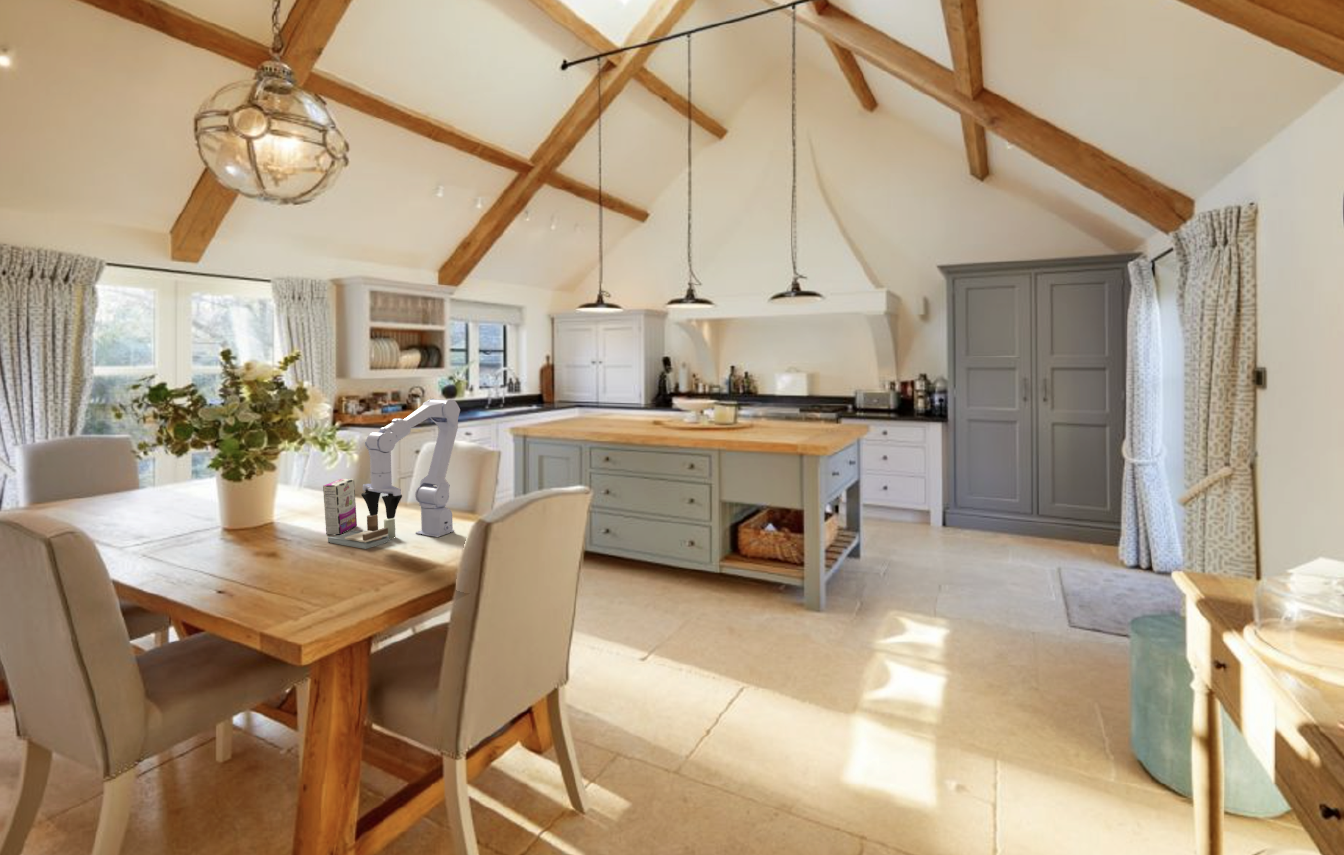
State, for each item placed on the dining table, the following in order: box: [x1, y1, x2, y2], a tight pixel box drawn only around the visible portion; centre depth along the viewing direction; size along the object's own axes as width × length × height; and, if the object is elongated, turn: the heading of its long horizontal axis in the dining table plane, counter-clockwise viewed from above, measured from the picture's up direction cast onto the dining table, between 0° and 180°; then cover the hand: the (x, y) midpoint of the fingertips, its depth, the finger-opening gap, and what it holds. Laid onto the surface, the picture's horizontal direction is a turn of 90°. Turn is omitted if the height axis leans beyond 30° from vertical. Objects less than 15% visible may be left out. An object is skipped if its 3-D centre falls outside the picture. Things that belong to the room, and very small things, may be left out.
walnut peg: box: [366, 514, 379, 531], centre depth 212 cm, size 3×3×6 cm
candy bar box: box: [322, 478, 358, 535], centre depth 215 cm, size 11×5×16 cm, turn 179°
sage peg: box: [383, 517, 396, 540], centre depth 208 cm, size 3×3×6 cm
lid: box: [345, 527, 388, 543], centre depth 201 cm, size 8×9×2 cm
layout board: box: [327, 529, 390, 550], centre depth 203 cm, size 16×9×2 cm, turn 67°
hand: (382, 516), depth 196 cm, fingers open, 7 cm apart
